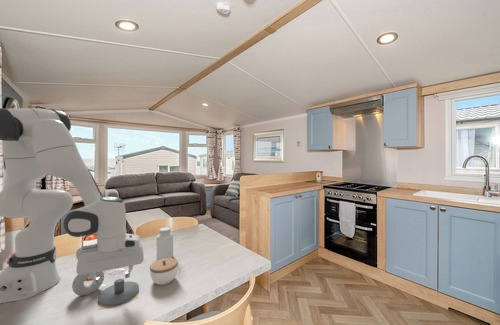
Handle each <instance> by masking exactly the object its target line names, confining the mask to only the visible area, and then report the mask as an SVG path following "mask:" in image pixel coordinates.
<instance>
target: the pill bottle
mask: <svg viewBox="0 0 500 325" xmlns="http://www.w3.org/2000/svg"><path fill="white" fill-rule="evenodd" d="M158 231H159V234H157V236H156V260H159V259H163V258H173V256H174V235H173V233H172V232H171V228H170V227H169V226H168V227H161V228H159V230H158Z"/></svg>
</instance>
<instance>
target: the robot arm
mask: <svg viewBox="0 0 500 325" xmlns="http://www.w3.org/2000/svg"><path fill="white" fill-rule="evenodd" d="M71 128H72V124H71V120H70V117H69V116H68V115H67V114H66V113H65V112H63V111H62V110H59V109H54V108H53V109H52V108H51V109H47V108H37V107H36V108H35V107H26V108H25V107H23V108H22V107H21V108H19V107H17V108H16V107H15V108H4V107H2V108H0V141H1V145H2V155H3V160H4V166H5V167H4V168H5V174H6V181H5V186H3V189H2V190H1V192H0V217H3V218H10V219H26V218H29V219H30V220H29V224H28V226H26V227H24V228H23V229H21V230H20V231H19V232H17V234H16V235H15V237H14V242H15V243H14V244H15V246H14V252H13V253H12V254H10V257H8V258H7V260H6V265H8V266H6V267H5V268H4V269H2V270H0V304H4V303H10V302H16V301H23V300H27V299H31V298H33V297H34V296H36V295H38V294H39V293H41V292H44V291H47V290H48V289H50V288H52V287H53V286H56V284H58V283H59V282H60V280H61V277H60V275H59V272H58V269H57V266H56V260H57V250H56V246H55V229H56V228H57V227H56V226H57V224H58V223H59V221H60V219H61V218H62V217H63V216H64V215H66V216H65V217H64V219H63V228H64V231H65V233H67V235H69V236H71V237H74V238H81V237H87V236H89V235H90V236H91V235H93V234H94V235H95V234H96V243H95V244H90V245H83V246H81V247H79V248H77V250H76V252H75V257H76V259H77V265H76V274H77V275H84V274H89V273H90V277H89V278H91V280H92V281H93V280H94V285H95V284H99V283H100V277H97V276H96V275H95V273H96V272H100V271H103V272H104V271H109V270H114V269H120V268H121V269H122V268H125V267H126V268H127V267H128V270H127V271H125V272H124V276H125V277H124V278H125V279H127V278H129V279H130V277H131V272H132V270H133V268H134V266H137V265H141V264H142V263H143V262H144V260H145V259H144V256H145V255H144V250H143V245H142V243H141V242H140V239H141V238H140V235H139V234H134V233H127V229H126V222H127V213H126V212H127V211H126V204H125V202H124V200H123V199H122V198H120V197H118V196H117V197H116V196H103V194H102V192H101V190H100V188H99V186H98V184H97V182H96V180H95V178H94V176H93V174H92V173H91V171H90V170H89V167H87V165H86V164H85V161H84V160H83V158H82V156H81V153H80V151H79V149H78V147H77V144H76V141H75V140H74V138H73V136H72V134H71V132H70V131H71ZM47 175H50V176H51V177H52V176H53V177H55V178H59V179H62V180H65V181H68V182H69V183H70V184H72V185H73V186H74V187H75V188H76V190H77V192H78V194H79V196H80V198H81V199H82V201H83V204H84V206H82V207H79V208H77V209H74V210H72V208H73V205H74V198H73V196H72V194H71V193H70V192H69V191H67V190H62V189H61V190H60V189H54V188H52V189H48V188H47V189H37V182H39V181H40V180H42V179H44V178H45V177H46V176H47ZM70 210H72V211H70ZM69 211H70V212H69ZM68 212H69V213H68Z"/></svg>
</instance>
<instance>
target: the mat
mask: <svg viewBox="0 0 500 325" xmlns="http://www.w3.org/2000/svg"><path fill="white" fill-rule="evenodd" d="M134 282H135V283H137V284H138V282H137V281H134ZM103 290H104V289H103ZM103 290H101V292H102V291H103ZM101 292H100V293H101ZM136 299H139V292H138V293H137V294H136V295H135V296H134V297H133V298H132V299H130V300H128V301H127V302H129V301H133V300H136ZM109 307H110V308H111V306H103V305H101V304H99V303H98V310H102V309H105V308H109Z"/></svg>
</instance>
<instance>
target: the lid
mask: <svg viewBox="0 0 500 325" xmlns="http://www.w3.org/2000/svg"><path fill="white" fill-rule="evenodd" d="M135 282H136V281H130V280H129V281H125V279H124V278H118V279H116V280H114V282H113V284H112V285H110V286H107V287H106V288H105V289H103V291H102V290H101V291H102V292H100V293H99V294H98V297H97V298H98V299H97V300H98V305H99V304H101V305H103V306H110V307H113V306H118V305H121V304H125V303H126V302H129V301H128V300H130V299H132V298H133V297H134V296H135V295H136V294H137V293H138V294H139V291H140V286H139V284H138V282H137V283H135ZM130 301H131V300H130Z"/></svg>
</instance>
